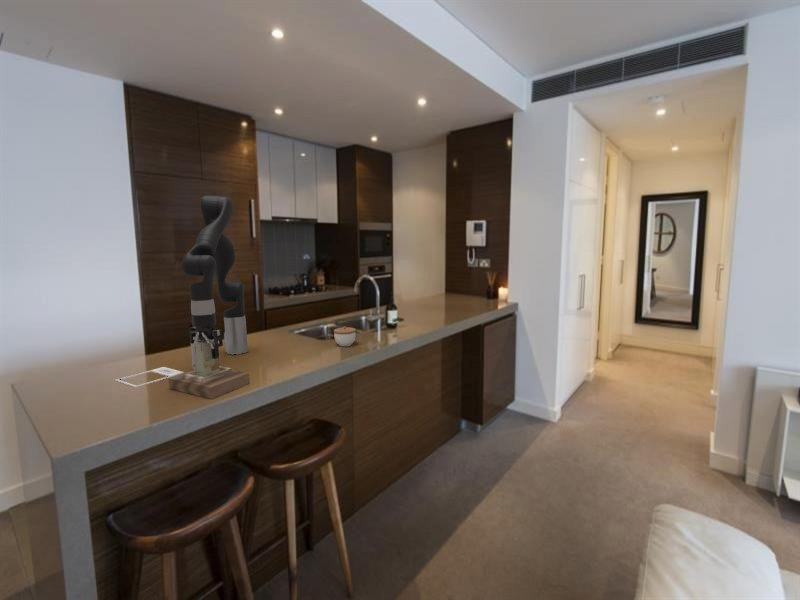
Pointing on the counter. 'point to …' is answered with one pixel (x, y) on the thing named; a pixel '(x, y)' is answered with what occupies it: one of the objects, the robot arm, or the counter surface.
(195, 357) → the travel mug
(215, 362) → the skincare box
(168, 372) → the photo frame
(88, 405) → the counter surface
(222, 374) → the display stand
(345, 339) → the lidded jar
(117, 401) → the counter surface
